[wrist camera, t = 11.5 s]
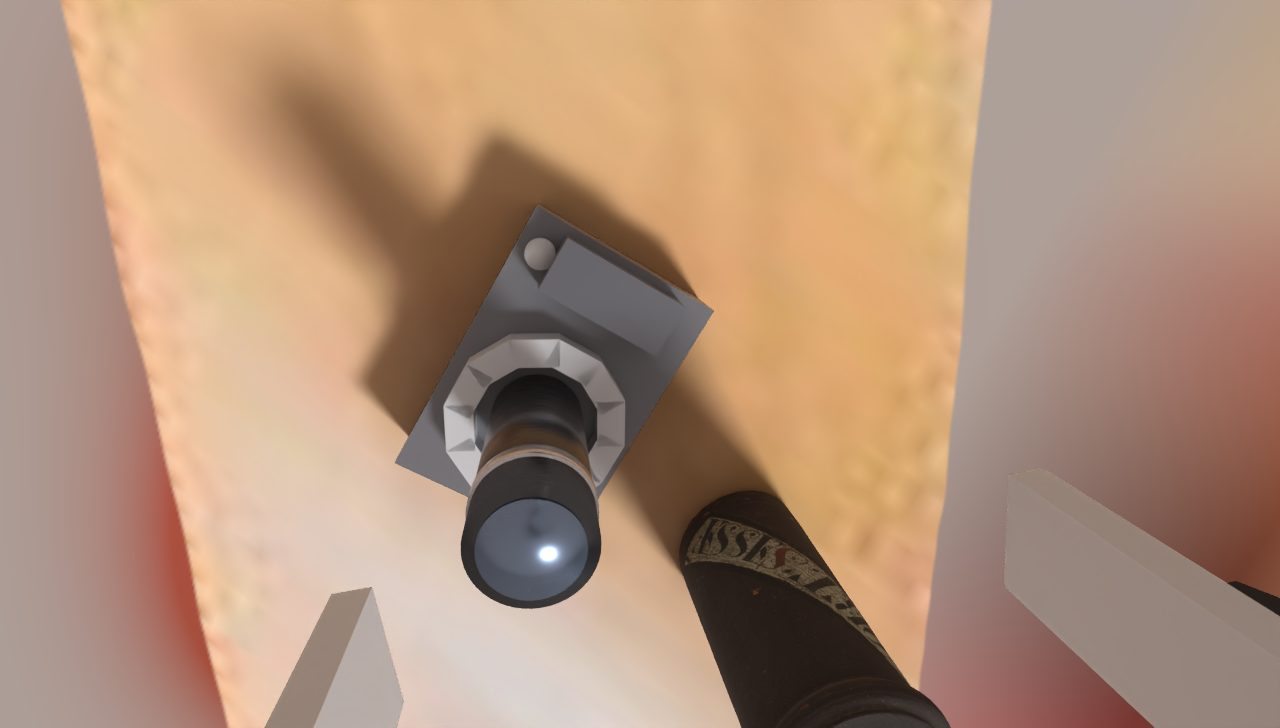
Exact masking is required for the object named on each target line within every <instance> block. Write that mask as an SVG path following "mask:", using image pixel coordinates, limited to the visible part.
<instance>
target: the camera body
mask: <svg viewBox="0 0 1280 728" xmlns="http://www.w3.org/2000/svg"><path fill="white" fill-rule="evenodd" d="M713 312H714V311H713V310H712V309H711V308H710V307H708V306H707V305H706V304H705V303H703V302H702V301H701V300H700V299H698V298H697V297H695V296H693V295H692V294H690V293H688V292H687V291H685V290H683V289H682V288H680V287H678V286H676V285H675V284H673V283H671V282H670V281H668V280H666V279H665V278H663V277H661V276H660V275H658V274H656V273H655V272H653V271H651V270H650V269H648V268H646V267H644V266H643V265H641V264H639V263H638V262H636V261H634V260H633V259H631V258H629V257H628V256H626V255H624V254H623V253H621V252H619V251H618V250H616V249H614V248H612V247H611V246H609V245H607V244H606V243H604V242H602V241H601V240H599V239H597V238H596V237H594V236H592V235H591V234H589V233H587V232H586V231H584V230H582V229H580V228H579V227H577V226H575V225H574V224H572V223H570V222H569V221H567V220H565V219H564V218H562V217H560V216H559V215H557V214H555V213H554V212H552V211H550V210H548V209H547V208H545V207H543V206H542V205H540V204H537V206H536V207H535V209H534V211H533V213H532V215H531V216H530V218H529V220H528V222H527V224H526V225H525V227H524V229H523V231H522V233H521V235H520V236H519V238H518V240H517V242H516V244H515V245H514V247H513V249H512V251H511V253H510V254H509V256H508V258H507V260H506V262H505V263H504V265H503V267H502V269H501V271H500V272H499V274H498V276H497V278H496V280H495V281H494V283H493V285H492V287H491V289H490V290H489V292H488V294H487V296H486V298H485V300H484V301H483V303H482V305H481V307H480V309H479V310H478V312H477V314H476V316H475V318H474V319H473V321H472V323H471V325H470V327H469V328H468V330H467V332H466V334H465V336H464V337H463V339H462V341H461V343H460V345H459V346H458V348H457V350H456V352H455V354H454V355H453V357H452V359H451V361H450V363H449V365H448V366H447V368H446V370H445V372H444V374H443V375H442V377H441V379H440V381H439V383H438V384H437V386H436V388H435V390H434V392H433V393H432V395H431V397H430V399H429V401H428V402H427V404H426V406H425V408H424V410H423V411H422V413H421V415H420V417H419V419H418V420H417V422H416V424H415V426H414V428H413V430H412V431H411V433H410V435H409V437H408V439H407V441H406V442H405V444H404V446H403V448H402V450H401V452H400V454H399V456H398V457H397V459H396V461H395V463H396V464H398V465H400V466H402V467H404V468H407V469H409V470H411V471H413V472H415V473H417V474H420V475H422V476H424V477H426V478H428V479H430V480H432V481H435V482H437V483H439V484H441V485H443V486H445V487H448V488H450V489H452V490H454V491H456V492H458V493H461V494H463V495H465V496H467V497H469V493H470V489H471V486H472V483H473V481H474V479H475V477H476V475H477V470H478V466H479V462H480V457H481V453H482V449H483V445H484V440H485V436H486V432H487V428H488V423H489V419H490V415H491V410H492V407H493V404H494V401H495V399H496V397H497V395H498V394H499V392H500V391H501V390H502V389H503V388H504V387H505V386H506V385H507V384H509V383H510V382H512V381H513V380H515V379H517V378H520V377H523V376H527V375H534V374H540V375H547V376H551V377H554V378H556V379H559V380H560V381H562V382H564V383H565V384H566V385H568V386H569V387H570V388H571V389H572V390H573V392H574V393H575V395H576V396H577V398H578V400H579V402H580V405H581V410H582V416H583V422H584V429H585V435H586V442H587V449H588V455H589V462H590V468H591V475H592V479H593V482H594V484H595V487H596V492H597V498H599V496H600V495H601V493H602V491H603V490H604V488H605V487H606V485H607V483H608V482H609V480H610V478H611V477H612V475H613V474H614V472H615V470H616V469H617V467H618V465H619V464H620V462H621V461H622V459H623V457H624V456H625V454H626V453H627V451H628V449H629V448H630V446H631V444H632V443H633V441H634V440H635V438H636V436H637V435H638V433H639V431H640V430H641V428H642V427H643V425H644V423H645V422H646V420H647V419H648V417H649V415H650V414H651V412H652V410H653V409H654V407H655V406H656V404H657V402H658V401H659V399H660V397H661V396H662V394H663V393H664V391H665V389H666V388H667V386H668V385H669V383H670V381H671V380H672V378H673V376H674V375H675V373H676V372H677V370H678V368H679V367H680V365H681V363H682V362H683V360H684V359H685V357H686V355H687V354H688V352H689V351H690V349H691V347H692V346H693V344H694V342H695V341H696V339H697V338H698V336H699V334H700V333H701V331H702V329H703V328H704V326H705V325H706V323H707V321H708V320H709V318H710V317H711V315H712V313H713Z"/></svg>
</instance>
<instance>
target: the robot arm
mask: <svg viewBox="0 0 1280 728" xmlns="http://www.w3.org/2000/svg"><path fill="white" fill-rule="evenodd" d="M1006 529H1007V530H1006V553H1005V579H1004V586H1005V587H1006V588H1007V589H1008V590H1009V591H1010V592H1011V593H1012V594H1013V595H1014V596H1015V597H1016V598H1017V599H1018V600H1019V601H1021V602H1022V603H1023V604H1024V605H1025V606H1026V607H1027V608H1028V609H1029V610H1030V611H1031V612H1032V613H1033V614H1034V615H1035V616H1036V617H1038V618H1039V619H1040V620H1041V621H1042V622H1043V623H1044V624H1045V625H1046V626H1047V627H1048V628H1049V629H1050V630H1051V631H1052V632H1054V633H1055V634H1056V635H1057V636H1058V637H1059V638H1060V639H1061V640H1062V641H1063V642H1064V643H1065V644H1066V645H1068V647H1070V648H1071V649H1072V650H1073V651H1074V652H1075V653H1076V654H1077V655H1078V656H1079V657H1080V658H1081V659H1082V660H1083V661H1084V662H1085V663H1087V664H1088V665H1089V666H1090V667H1091V668H1092V669H1093V670H1094V671H1095V672H1096V673H1097V674H1098V675H1100V676H1101V678H1103V679H1104V680H1105V681H1106V682H1107V683H1108V684H1109V685H1110V686H1111V687H1112V688H1113V689H1114V690H1115V691H1116V692H1117V693H1118V694H1120V695H1121V696H1122V697H1123V698H1124V699H1125V700H1126V701H1127V702H1128V703H1129V704H1130V705H1131V706H1132V707H1133V708H1134V709H1136V710H1137V711H1138V712H1139V713H1140V714H1141V715H1142V716H1143V717H1144V718H1145V719H1146V720H1147V721H1148V722H1149V723H1151V724H1152V725H1153V726H1154V727H1155V728H1280V598H1278V597H1276V596H1273V595H1271V594H1268V593H1265V592H1263V591H1260V590H1258V589H1255V588H1253V587H1250V586H1248V585H1245V584H1242V583H1240V582H1237V581H1234V582H1229V583H1226V582H1224V581H1222V580H1220V579H1219V578H1218V577H1216V576H1214V575H1213V574H1211V573H1210V572H1208V571H1206V570H1205V569H1203V568H1202V567H1200V566H1198V565H1197V564H1195V563H1194V562H1192V561H1190V560H1189V559H1187V558H1186V557H1184V556H1182V555H1181V554H1179V553H1178V552H1176V551H1175V550H1173V549H1171V548H1170V547H1168V546H1166V545H1165V544H1163V543H1162V542H1160V541H1159V540H1157V539H1155V538H1154V537H1152V536H1151V535H1149V534H1147V533H1146V532H1144V531H1142V530H1141V529H1139V528H1137V527H1136V526H1134V525H1133V524H1131V523H1130V522H1128V521H1126V520H1125V519H1123V518H1122V517H1120V516H1119V515H1117V514H1115V513H1114V512H1112V511H1110V510H1109V509H1107V508H1105V507H1104V506H1103V505H1101V504H1099V503H1098V502H1096V501H1095V500H1093V499H1091V498H1090V497H1088V496H1087V495H1085V494H1083V493H1082V492H1080V491H1079V490H1077V489H1075V488H1074V487H1072V486H1070V485H1069V484H1067V483H1066V482H1064V481H1063V480H1061V479H1059V478H1057V477H1056V476H1055V475H1053V474H1051V473H1050V472H1048V471H1047V470H1045V469H1043V468H1041V469H1035V470H1030V471H1024V472H1018V473H1013V474H1009V480H1008V505H1007V528H1006ZM403 703H404V700H403V696H402V693H401V689H400V685H399V682H398V678H397V675H396V671H395V668H394V664H393V660H392V657H391V653H390V650H389V646H388V642H387V639H386V635H385V632H384V628H383V625H382V621H381V617H380V614H379V610H378V607H377V603H376V599H375V596H374V592H373V589H372V587H369V588H364V589H358V590H352V591H347V592H341V593H336V594H331V596H330V598H329V600H328V602H327V604H326V606H325V608H324V610H323V612H322V614H321V616H320V618H319V620H318V622H317V624H316V626H315V628H314V630H313V632H312V634H311V636H310V638H309V640H308V642H307V644H306V646H305V648H304V650H303V652H302V654H301V656H300V658H299V660H298V662H297V664H296V666H295V668H294V670H293V672H292V674H291V676H290V678H289V680H288V682H287V684H286V686H285V688H284V690H283V692H282V694H281V696H280V698H279V700H278V702H277V704H276V706H275V708H274V710H273V712H272V714H271V716H270V718H269V720H268V722H267V724H266V726H265V728H397V725H398V721H399V717H400V714H401V710H402V706H403Z"/></svg>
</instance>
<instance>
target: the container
mask: <svg viewBox="0 0 1280 728" xmlns="http://www.w3.org/2000/svg"><path fill="white" fill-rule="evenodd" d="M680 566H681V570H682V573H683V576H684V579H685V582H686V585H687V587H688V590H689V593H690V595H691V598H692V600H693V603H694V605H695V608H696V611H697V613H698V616H699V619H700V621H701V624H702V626H703V629H704V632H705V634H706V637H707V639H708V642H709V644H710V647H711V650H712V652H713V655H714V658H715V660H716V663H717V666H718V668H719V671H720V673H721V676H722V679H723V681H724V684H725V686H726V689H727V692H728V694H729V697H730V699H731V702H732V704H733V707H734V709H735V712H736V714H737V717H738V719H739V722H740V725H741V728H951V727H950V725H949V723H948V721H947V720H946V718H945V717H944V715H943V714H942V712H941V711H940V710H939V709H938V707H937V706H936V705H935V704H934V703H933V702H932V701H931V700H930V699H929V698H927V697H926V696H925V695H923V694H922V693H921V692H919V691H918V690H916V689H914V688H912V687H911V686H910V685H909V683H908V682H907V680H906V679H905V677H904V676H903V675H902V673H901V672H900V670H899V669H898V668H897V666H896V665H895V663H894V662H893V660H892V659H891V658H890V656H889V655H888V653H887V652H886V650H885V649H884V647H883V646H882V645H881V643H880V642H879V640H878V639H877V637H876V636H875V634H874V633H873V631H872V630H871V628H870V627H869V625H868V624H867V622H866V621H865V619H864V618H863V616H862V615H861V614H860V612H859V611H858V609H857V608H856V606H855V605H854V603H853V602H852V601H851V599H850V598H849V597H848V595H847V594H846V592H845V591H844V589H843V588H842V586H841V585H840V584H839V582H838V581H837V579H836V578H835V576H834V575H833V573H832V571H831V570H830V569H829V567H828V566H827V564H826V563H825V561H824V560H823V558H822V557H821V555H820V554H819V552H818V551H817V550H816V548H815V547H814V545H813V544H812V542H811V541H810V539H809V538H808V536H807V535H806V533H805V532H804V530H803V529H802V527H801V526H800V524H799V523H798V522H797V520H796V519H795V517H794V516H793V515H792V514H791V512H790V511H789V510H788V508H787V507H786V506H785V505H784V504H783V503H782V502H781V501H779V500H778V499H777V498H775V497H773V496H771V495H769V494H766V493H762V492H753V491H751V492H740V493H735V494H731V495H727V496H725V497H722V498H720V499H718V500H717V501H715V502H713V503H711V504H710V505H708V506H707V507H705V508H704V509H703V510H702V511H701V512H700V513H699V514H698V515H697V516H696V517H695V518H694V519H693V521H692V522H691V523H690V525H689V527H688V528H687V530H686V532H685V534H684V537H683V539H682V542H681V546H680Z"/></svg>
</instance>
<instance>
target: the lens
mask: <svg viewBox="0 0 1280 728" xmlns="http://www.w3.org/2000/svg"><path fill="white" fill-rule="evenodd" d="M598 520H599V504H598V498H597V492H596V487H595V484H594V482H593V479H592V475H591V468H590V462H589V455H588V449H587V442H586V435H585V429H584V422H583V416H582V410H581V405H580V402H579V400H578V398H577V396H576V395H575V393H574V392H573V390H572V389H571V388H570V387H569V386H568V385H566V384H565V383H564V382H562V381H560V380H559V379H556V378H554V377H551V376H547V375H540V374H534V375H527V376H523V377H520V378H517V379H515V380H513V381H512V382H510V383H509V384H507V385H506V386H505V387H504V388H503V389H502V390H501V391H500V392H499V394H498V395H497V397H496V399H495V401H494V404H493V407H492V410H491V415H490V419H489V423H488V428H487V432H486V436H485V440H484V445H483V449H482V453H481V457H480V462H479V466H478V470H477V475H476V477H475V479H474V481H473V483H472V486H471V489H470V493H469V497H468V501H467V507H466V521H465V526H464V530H463V534H462V540H461V557H462V562H463V565H464V568H465V571H466V573H467V575H468V576H469V578H470V580H471V581H472V582H473V584H474V585H475V586H476V587H477V588H478V589H479V590H480V591H481V592H482V593H483V594H485V595H486V596H488V597H489V598H491V599H493V600H495V601H496V602H499V603H501V604H504V605H507V606H511V607H515V608H529V609H533V608H542V607H546V606H551V605H554V604H556V603H559V602H561V601H563V600H565V599H567V598H569V597H570V596H572V595H574V594H575V593H576V592H577V591H579V590H580V589H581V588H582V587H583V586H584V585H585V584H586V583H587V582H588V580H589V579H590V578H591V576H592V575H593V573H594V571H595V569H596V567H597V564H598V562H599V558H600V554H601V534H600V528H599V521H598Z"/></svg>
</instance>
